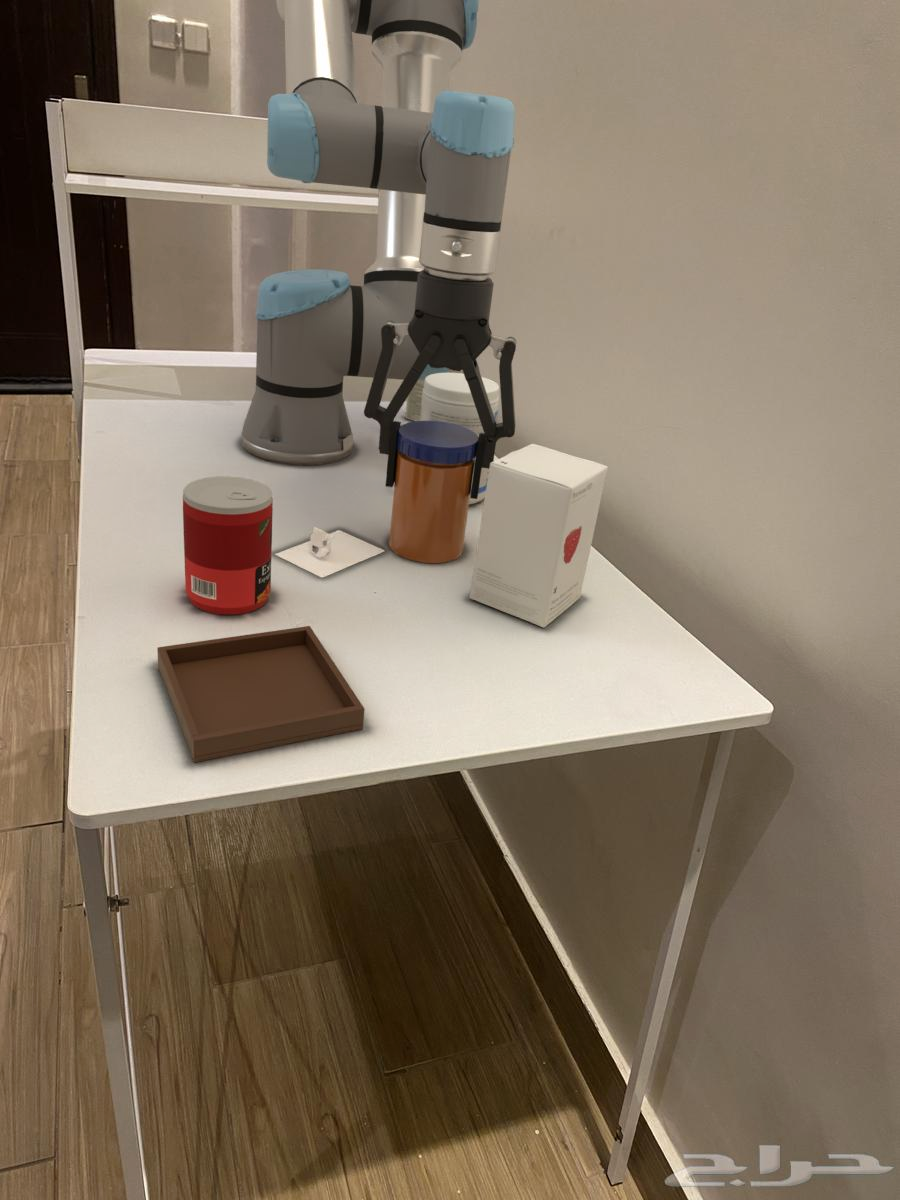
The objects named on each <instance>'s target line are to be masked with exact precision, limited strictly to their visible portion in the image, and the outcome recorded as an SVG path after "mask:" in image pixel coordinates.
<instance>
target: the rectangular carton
mask: <svg viewBox="0 0 900 1200" xmlns="http://www.w3.org/2000/svg"><path fill="white" fill-rule="evenodd" d="M608 468H609V467H608V465H605V464H602V463H599V462H597V461H592V460H589V459H585V458H582V457H578V456H575V455H571V454H569V453H565V452H562V451H559V450H556V449H552V448H550V447H546V446H543V445H540V444H537V443H530V444H528V445H526V446H524V447H521V448H520V449H517V450H513V451H511V452H509V453H508V454H506V455H504V456H502V457H500V458H498V459H496V460H493V462H491V463H490V468H489V474H488V481H487V487H486V494H485V498H484V499H483V500H484V501H483V507H482V514H481V522H480V525H479V526H480V527H479V534H478V539H477V544H476V545H477V547H476V552H475V558H474V559H475V560H474V566H473V571H472V580H471V585H470V590H469V591H470V593H469V599H471V600H474V601H476V602H478V603H481V604H483V605H486V606H489V607H491V608H494V609H495V610H498V611H501V612H504V613H506V614H508V615H510V616H514V617H516V618H518V619H520V620H523V621H527V622H529V623H531V624H534V625H536V626H539V627H541V628H546V627H547V626H548V625H550V623H552V622H553V621H554V620H555V619H557V618H558V617H559V616H560V615H562V614H563V613H564V612H565V611H567V610H568V609H569V608H570V607H571V606H573V604H575V603H576V602H577V601H578V600H579V599H580V598H581V595H582V590H583V586H584V580H585V576H586V573H587V567H588V562H589V557H590V552H591V549H592V544H593V539H594V534H595V529H596V524H597V519H598V515H599V509H600V505H601V500H602V496H603V492H604V486H605V482H606V478H607V473H608Z"/></svg>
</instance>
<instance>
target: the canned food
mask: <svg viewBox="0 0 900 1200" xmlns="http://www.w3.org/2000/svg"><path fill="white" fill-rule="evenodd" d="M273 499H274V498H273V492H272V489H271V488H270V487H268V486H267V485H266V484H264V483H262V482H260V481H257V480H254V479H250V478H246V477H245V478H244V477H239V476H227V475H226V476H225V475H224V476H223V475H221V476H210V477H209V476H208V477H204V478H199V479H196V480H193V481H191V482H189V483H188V484H187V485H185V486H184V487H183V493H182V523H183V524H182V527H183V553H184V577H185V578H184V583H185V585H184V586H185V593H186V595H187V598H188V600H189V602H190V603H191V604H192V605H193V606H194V607H196V608H198V609H199V610H201V611H204V612H206V613H211V614H214V615H215V614H216V615H226V616H227V615H228V616H231V615H232V616H233V615H241V614H246V613H250V612H253V611H256V610H257V609H260V608H261V607H263V606H264V605H265V604H266V603H267V601H268V599H269V597H270V593H271V587H272V552H273V551H272V549H273V516H274V515H273V514H274V512H273V511H274V509H273V507H274V506H273V505H274V503H273Z"/></svg>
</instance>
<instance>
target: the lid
mask: <svg viewBox="0 0 900 1200" xmlns="http://www.w3.org/2000/svg"><path fill="white" fill-rule="evenodd" d="M477 444H478V436H477V434H476V433H474V432H473V431H471V430H469V429H467V428H465V427H462V426H459V425H455V424H451V423H446V422H439V421H410V422H406V423H403V424H401V426H400V427H399V429H398V439H397V448H398V449H399V451H401V452H402V453H403V454H405V455H407V456H409V457H411V458H414V459H417V460H421V461H425V462H431V463H439V464H457V463H464V462H468V461H470V460H472V459H474V458H475V457H476V451H477Z"/></svg>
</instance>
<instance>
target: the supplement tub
mask: <svg viewBox="0 0 900 1200" xmlns="http://www.w3.org/2000/svg"><path fill="white" fill-rule="evenodd" d="M481 378H482V381H483V384H484V387H485V390H486V393H487V396H488V399H489V402H490V405H491V408H492V411H493V415H494V418H495V421H496V423H497V421H498V413H499V404H500V395H499V394H500V385H499V384H498V383H497V382H496V381H494V380H492V379H489V378H487V377H483V376H481ZM420 421H439V422H446V423H451V424H455V425H459V426H462V427H465V428H467V429H469V430H471V431H473V432H474V433H476V434H477V436H478V438H479V433H484V431H483V428H482V425H481V422H480V419H479V416H478V413H477V410H476V407H475V404H474V401H473V398H472V395H471V392H470V389H469V386H468V383H467V381H466V379H465V376H464V373H463V372H450V373H436V374H431V375H429V376H427V377H426V378H425V382H424V388H423V393H422V403H421V414H420ZM475 459H476V457H475ZM474 466H475V463H474ZM473 474H474V471H473ZM488 474H489V469H488V468H482V470H481V477H480V484H479V491H478V497H477V499H473V498H470V500H469V505H474V504H477V503H479V502H481V501H482V500H485V494H486V487H487V481H488ZM472 481H473V478H472ZM471 489H472V486H471ZM470 496H471V493H470Z"/></svg>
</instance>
